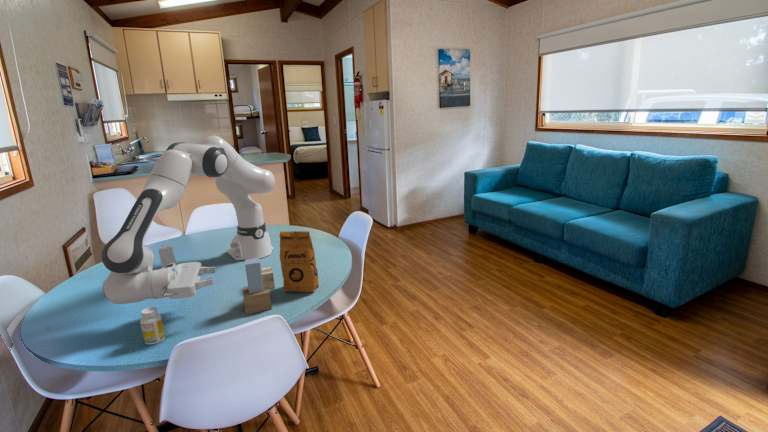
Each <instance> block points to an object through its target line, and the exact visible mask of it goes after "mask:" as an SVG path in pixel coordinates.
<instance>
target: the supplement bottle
mask: <svg viewBox="0 0 768 432" xmlns="http://www.w3.org/2000/svg"><path fill="white" fill-rule="evenodd" d="M158 312H159V311H158V307H156V306H149V307H145V308H144V309H142V310H141V311H140V313H141V314H140V315H141V318H140V320H139V323H140V328H141V332H142V337H143V341H144V344H146V345H151V346H152V345H156V344H159V343H161V342H162V341H163V340H165V339H166V332H165V328H164V324H163V319H162V318H163V317H162V315H161V314H160V313H158Z"/></svg>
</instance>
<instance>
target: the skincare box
mask: <svg viewBox="0 0 768 432" xmlns="http://www.w3.org/2000/svg"><path fill="white" fill-rule="evenodd" d="M158 254H159V259H160V263H161V268H163V267H165V266H167V265H168V264H172V263H175V265H177V261H176V257H175V253H174V247H173V245H172V244H167V245H162V246H161V245H160V247H159V249H158Z"/></svg>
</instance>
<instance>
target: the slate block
mask: <svg viewBox="0 0 768 432" xmlns="http://www.w3.org/2000/svg"><path fill="white" fill-rule="evenodd" d="M244 266H245V274H246V280H247V281H246V282H247V286H248V289H249V294H250V293H256V292H262V291H264V289H263V280H262V273H261V269H262V266H261V258H255V259H248V260H244Z"/></svg>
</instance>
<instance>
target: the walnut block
mask: <svg viewBox="0 0 768 432" xmlns="http://www.w3.org/2000/svg"><path fill="white" fill-rule="evenodd" d="M263 289H264V291H262V292H256V293H250V294H249V289H248V285H247V286H243V294H242V295H243V303H244V311H245V314H246V315H248V314H253V313H258V312H264V311H270V310H272V309H273V308H272V301H271V300H272V299H271V293H270V292H271V291H270V289H269V283H264V284H263Z"/></svg>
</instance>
